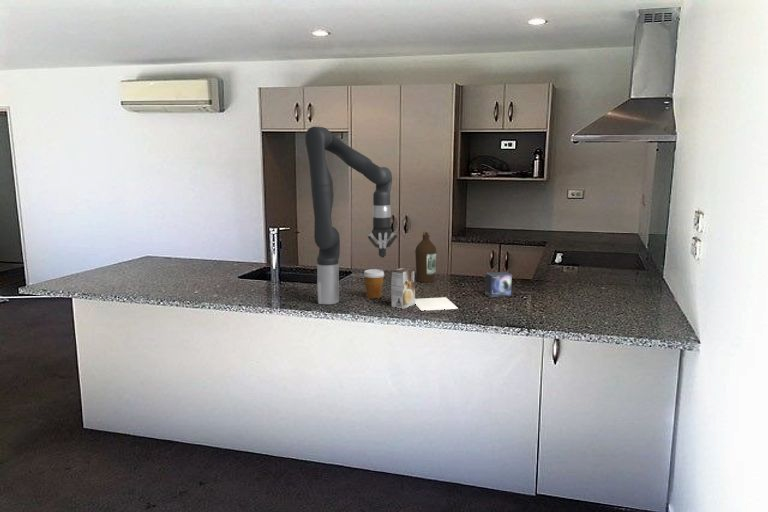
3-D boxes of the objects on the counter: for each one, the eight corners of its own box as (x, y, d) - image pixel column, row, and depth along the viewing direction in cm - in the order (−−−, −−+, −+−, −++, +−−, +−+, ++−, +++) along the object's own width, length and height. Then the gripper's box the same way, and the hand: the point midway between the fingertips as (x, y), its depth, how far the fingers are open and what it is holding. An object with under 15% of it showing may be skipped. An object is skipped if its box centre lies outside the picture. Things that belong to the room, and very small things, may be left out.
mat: (420, 310, 242) (420, 309, 242) (411, 299, 259) (411, 299, 259) (457, 308, 244) (457, 307, 244) (446, 298, 262) (446, 297, 262)
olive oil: (410, 280, 297) (411, 232, 292) (424, 277, 304) (425, 230, 300) (426, 284, 289) (426, 234, 285) (440, 280, 297) (441, 232, 292)
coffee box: (403, 302, 255) (403, 266, 252) (415, 304, 251) (415, 268, 248) (390, 306, 248) (390, 270, 245) (403, 309, 244) (403, 271, 241)
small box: (490, 298, 261) (491, 275, 260) (484, 295, 268) (484, 272, 266) (511, 296, 264) (512, 274, 262) (505, 293, 270) (505, 271, 269)
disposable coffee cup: (360, 295, 267) (360, 270, 265) (380, 293, 270) (380, 268, 268) (367, 300, 258) (367, 274, 256) (387, 298, 261) (387, 272, 259)
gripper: (367, 217, 236) (368, 259, 239) (399, 216, 238) (399, 258, 242) (364, 215, 243) (365, 256, 247) (395, 214, 246) (396, 254, 249)
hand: (382, 257), depth 244 cm, fingers closed
